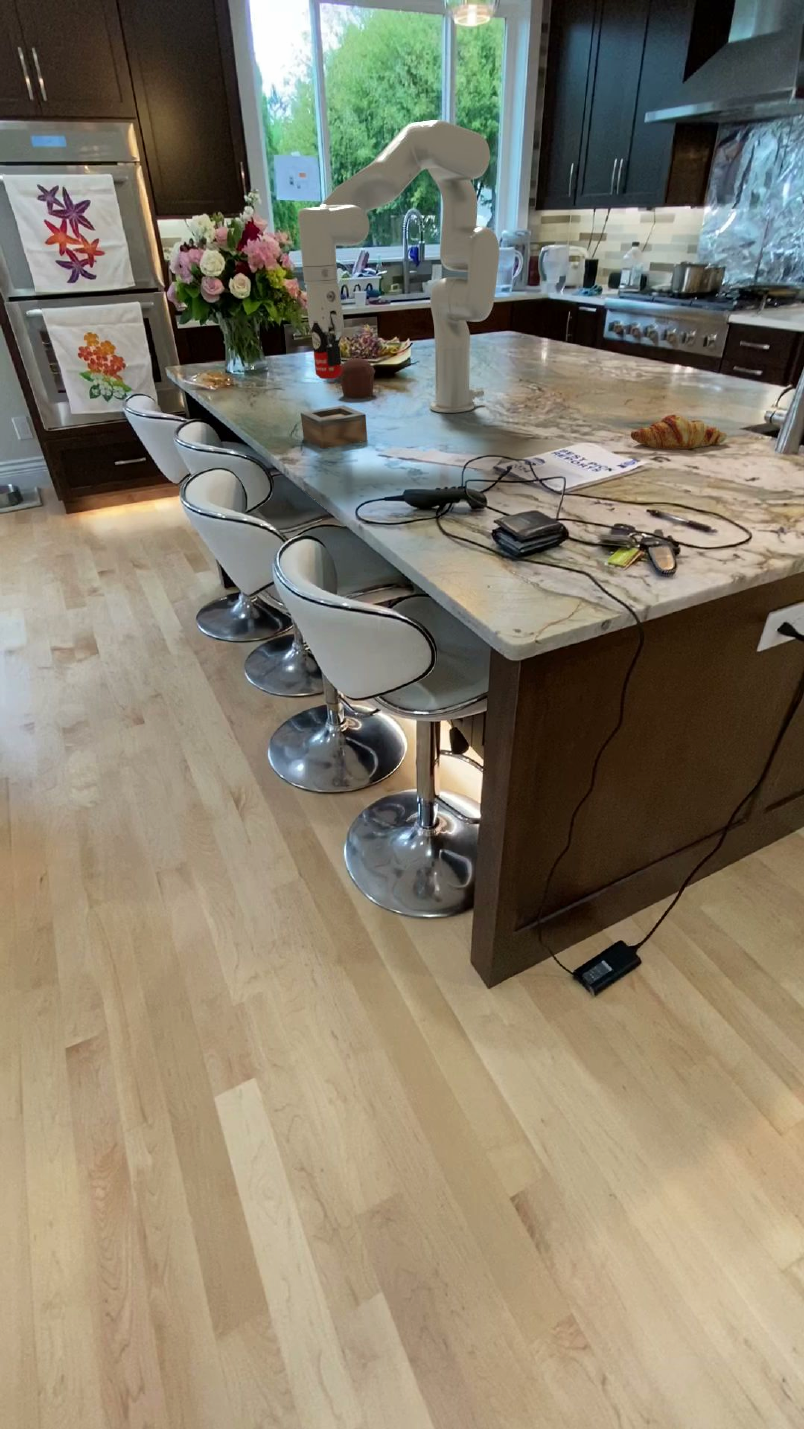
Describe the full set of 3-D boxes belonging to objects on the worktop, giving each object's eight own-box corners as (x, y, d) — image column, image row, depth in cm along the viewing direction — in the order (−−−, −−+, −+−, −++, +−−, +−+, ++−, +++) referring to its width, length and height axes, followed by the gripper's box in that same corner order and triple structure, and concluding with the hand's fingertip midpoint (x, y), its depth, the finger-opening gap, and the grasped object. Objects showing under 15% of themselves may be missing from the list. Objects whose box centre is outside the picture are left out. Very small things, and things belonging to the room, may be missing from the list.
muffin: (356, 389, 230) (353, 354, 224) (383, 392, 224) (382, 357, 218) (331, 397, 222) (328, 361, 216) (359, 400, 216) (357, 364, 211)
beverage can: (317, 374, 176) (312, 319, 169) (343, 373, 176) (339, 318, 169) (314, 380, 171) (308, 322, 164) (341, 379, 171) (336, 321, 164)
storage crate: (345, 430, 189) (343, 405, 185) (367, 440, 180) (365, 414, 176) (303, 438, 184) (300, 412, 180) (323, 449, 175) (320, 422, 172)
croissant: (717, 456, 170) (720, 421, 169) (733, 446, 160) (736, 408, 159) (625, 455, 172) (627, 420, 171) (635, 445, 162) (637, 408, 161)
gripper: (353, 275, 157) (358, 366, 167) (319, 271, 169) (327, 356, 180) (321, 278, 154) (329, 370, 164) (289, 274, 166) (299, 360, 177)
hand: (328, 362), depth 172 cm, fingers closed on beverage can, 6 cm apart
